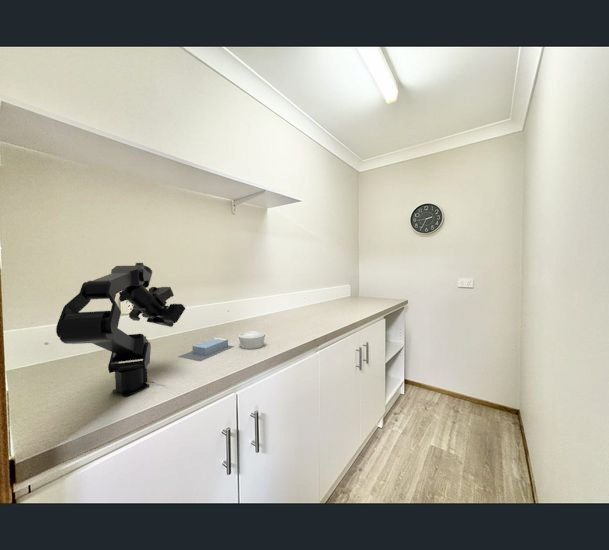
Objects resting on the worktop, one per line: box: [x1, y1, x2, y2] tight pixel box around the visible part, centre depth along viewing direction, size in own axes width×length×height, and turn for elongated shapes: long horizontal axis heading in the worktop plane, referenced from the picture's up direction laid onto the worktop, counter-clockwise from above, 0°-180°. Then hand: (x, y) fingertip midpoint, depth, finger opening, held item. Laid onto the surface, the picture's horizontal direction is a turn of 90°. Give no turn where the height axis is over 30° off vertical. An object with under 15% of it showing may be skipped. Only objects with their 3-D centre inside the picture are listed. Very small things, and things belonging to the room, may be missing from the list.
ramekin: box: [238, 330, 266, 350], centre depth 105 cm, size 11×11×5 cm
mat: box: [177, 344, 235, 362], centre depth 98 cm, size 18×12×1 cm, turn 155°
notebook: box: [192, 337, 229, 356], centre depth 100 cm, size 3×7×12 cm
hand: (172, 325), depth 86 cm, fingers closed
